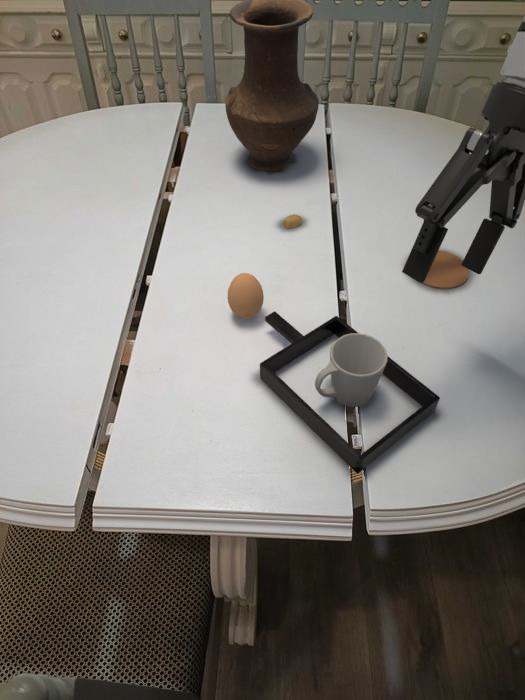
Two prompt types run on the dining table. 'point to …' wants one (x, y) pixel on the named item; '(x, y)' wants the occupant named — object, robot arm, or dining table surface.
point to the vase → (271, 83)
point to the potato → (292, 221)
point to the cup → (353, 369)
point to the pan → (312, 419)
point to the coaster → (446, 272)
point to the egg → (245, 295)
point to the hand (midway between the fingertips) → (443, 273)
